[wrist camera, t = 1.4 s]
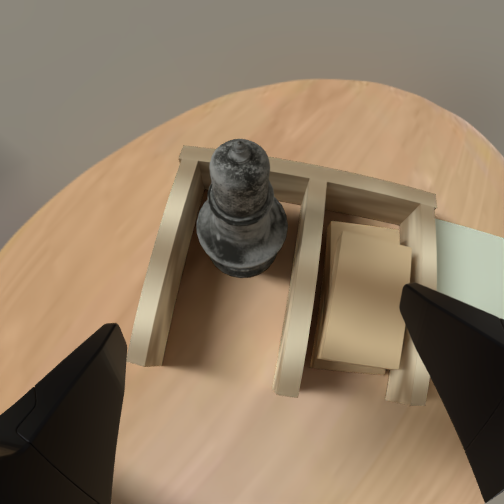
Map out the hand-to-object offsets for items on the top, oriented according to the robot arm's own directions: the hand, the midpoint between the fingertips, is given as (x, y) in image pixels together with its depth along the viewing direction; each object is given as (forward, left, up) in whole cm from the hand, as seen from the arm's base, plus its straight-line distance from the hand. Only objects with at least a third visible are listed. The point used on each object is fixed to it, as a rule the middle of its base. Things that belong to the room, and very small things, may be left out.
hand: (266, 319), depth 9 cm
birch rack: (+4, -2, -13) cm, 14 cm away
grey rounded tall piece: (+7, +2, -13) cm, 15 cm away
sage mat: (+6, -18, -13) cm, 23 cm away
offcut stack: (+4, -7, -13) cm, 15 cm away
